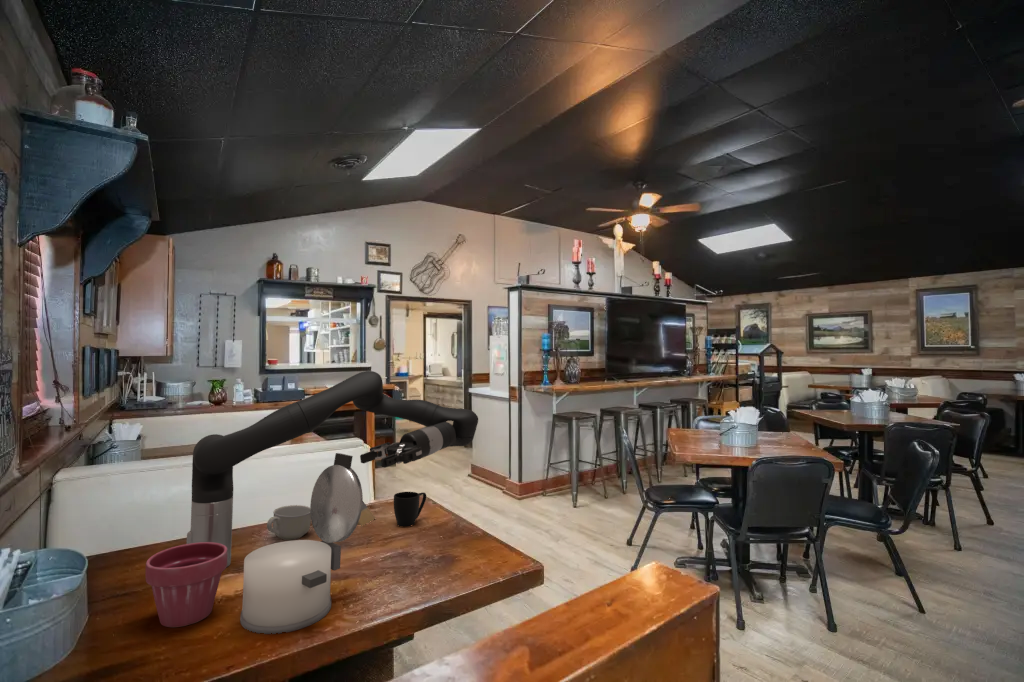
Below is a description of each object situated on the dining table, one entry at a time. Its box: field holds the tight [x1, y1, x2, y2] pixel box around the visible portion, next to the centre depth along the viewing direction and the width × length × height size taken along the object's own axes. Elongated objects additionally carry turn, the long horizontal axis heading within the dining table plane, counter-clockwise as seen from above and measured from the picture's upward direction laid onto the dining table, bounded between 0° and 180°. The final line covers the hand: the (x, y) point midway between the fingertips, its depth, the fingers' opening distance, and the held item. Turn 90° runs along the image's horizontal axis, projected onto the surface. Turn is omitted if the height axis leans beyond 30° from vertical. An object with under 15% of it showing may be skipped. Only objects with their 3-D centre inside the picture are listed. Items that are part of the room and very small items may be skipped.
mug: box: [393, 491, 427, 527], centre depth 166 cm, size 8×12×10 cm
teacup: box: [266, 504, 312, 541], centre depth 151 cm, size 14×11×8 cm
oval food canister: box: [239, 539, 342, 635], centre depth 109 cm, size 19×23×12 cm
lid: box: [309, 452, 364, 543], centre depth 117 cm, size 20×17×2 cm
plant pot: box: [145, 542, 228, 628], centre depth 105 cm, size 14×14×13 cm
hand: (371, 461), depth 123 cm, fingers open, 8 cm apart
